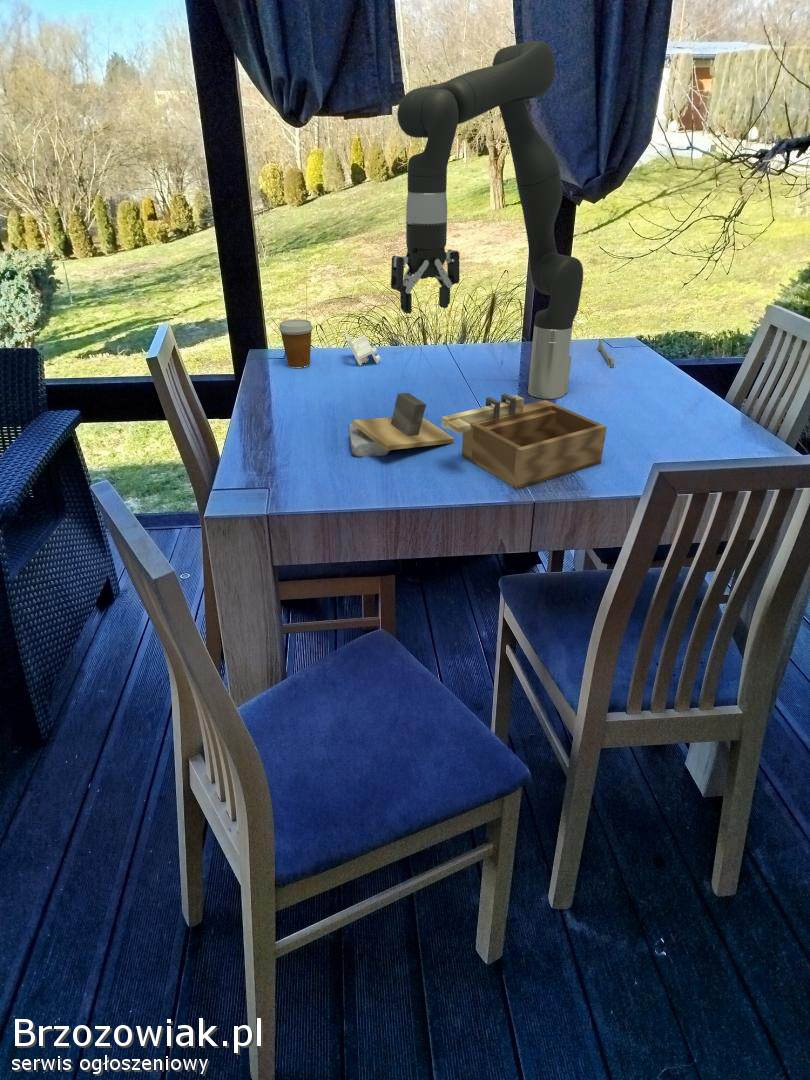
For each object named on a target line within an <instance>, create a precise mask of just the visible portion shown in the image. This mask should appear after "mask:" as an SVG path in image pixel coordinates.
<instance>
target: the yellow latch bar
mask: <svg viewBox="0 0 810 1080" xmlns="http://www.w3.org/2000/svg"><path fill="white" fill-rule="evenodd" d="M511 396H512V397H514V398H516V402H515V413H519V412H523V405H525V404H524V402H525V399H524V398H523V397H522V396H519V395H516V394H514V395H511ZM494 408H495V405H494V404H491V405H490V406H486V405H485V406H483V407H478V408H474V409H471V410H465V411H461V412H457V413H453V414H449V415H445V416H444V415H443V416H441V427H442V428H443V429H445V430H450V431H452V432H453V433H455V434H458V435H459V434H463V432H467V431H471V425H470V424H471V423H475V422H479V421H483V420H487V419H491V418H494ZM509 410H510V401H509V400H506V402H503V403H501V402H500V414H499V416H503V415H507V414H509Z"/></svg>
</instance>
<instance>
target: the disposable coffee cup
mask: <svg viewBox="0 0 810 1080" xmlns="http://www.w3.org/2000/svg"><path fill="white" fill-rule="evenodd" d="M313 329H314V326H313V325H312V322H311V321H310V320H307V319H301V318H296V319H286V320H283V321H280V323H279V327H278V330H279V333H280V335H281V340H282V344H283V348H284V353H285V358H286V362H287V367H289V366H290V367H304V366H307V365H309V364H310V365H311V350H312V349H311V348H312V347H311V346H312V333H313V332H312V331H313ZM290 367H289V368H290Z"/></svg>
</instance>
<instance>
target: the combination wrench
mask: <svg viewBox="0 0 810 1080" xmlns="http://www.w3.org/2000/svg"><path fill="white" fill-rule="evenodd" d="M598 341H599V342H598V345H597V351H598V352H601V354H602V356H603V357H604V359H605V361H606V363H607V366H608V367H609V366H610V367H613V368H614V367H615V359H614V357H610V355H609V353H608V352H607V350H606V349H605V347H604V345H603V339H602V338H599V339H598Z"/></svg>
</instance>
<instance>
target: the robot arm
mask: <svg viewBox="0 0 810 1080" xmlns="http://www.w3.org/2000/svg"><path fill="white" fill-rule="evenodd" d="M555 75H556V61H555V55H554V53H553V49H552V47H550V46H549V45H548V44H547V43H546V42H544V41H543V40H531V41H526V42H522V43H517V44H514V45H509V46H506V47H503V48H500V49H499V50H498V51H496V53H495V54H494V57H493V61H492V65H490V66H487V67H482V68H478V69H475V70H470V71H469V72H465V73H463V74H462V73H461V74H459V75H458V76H455V77H453V78H451V79H449V80H447V81H444V82H440V83H436V84H431V85H424V86H422V87H417V88H414V89H412V90H410V91H408V92H407V93H406V94H405V95H404V96H403V97H402V98H401V100H400V103H399V105H398V106H397V115H396V116H397V123H398V125H399V127H400V130H402V131H403V133H404V134H406V135H407V136H409V137H410V138H415V139H416V138H418V139H421V138H424V139H426V138H427V141H426V144H425V146H424V147H425V148H424V150H423V151H422V152H420V153H416V154H413V155H412V156H410V157H409V159H408V162H407V194H406V195H407V196H406V206H405V209H406V210H405V217H406V219H405V220H406V221H405V224H406V225H405V230H406V231H405V233H406V234H405V236H406V237H405V238H406V239H405V242H406V243H405V244H406V249H407V252H406V255H405V256H399V255H392V257H391V268H390V269H391V272H390V288H391V289H392V290H395V291H398V292H399V294H400V309H401V310H402V312H403V313H405V314H408V315H409V314H412V312H413V311H412V307H413V304H412V303H413V301H412V298H413V297H412V296H413V295H412V294H413V293H411V292H412V290H413V289H414V287H415V285H416V284H417V283H418V282H419V280H420V279H421V280H424V279H428V278H432V279H433V278H435V279H436V280H437V282H438V283H439V285H440V286H439V289H438V290H439V293H438V295H439V296H438V305H439V307H440V308H443V309H448V307H449V305H450V302H451V288H452V286H453V285H455V284H456V285H457V284H459V283H460V252H459V251H457V250H453V249H448V250H447V251H446V249H445V248H446V246H447V237H448V236H447V235H448V233H447V231H448V198H447V179H448V177H447V176H448V175H447V173H448V165H449V159H450V156H451V152H452V148H453V144H454V140H455V136H456V132H457V129H458V125H461V124H464V123H466V122H468V121H470V120H473V119H475V118H477V117H480V115H483V114H485V113H487V112H489V111H491V110H493V109H495V108H498V109H499V111H500V115H501V118H502V121H503V125H504V128H505V131H506V135H507V136H506V137H507V140H508V143H509V144H508V145H509V148H510V153H511V158H512V163H513V167H514V168H513V169H514V175H515V181H516V185H517V190H518V191H517V192H518V196H519V200H520V205H521V209H522V215H523V220H524V221H523V222H524V226H525V231H526V232H525V233H526V238H527V245H528V255H529V257H528V258H529V266H530V268H529V269H530V277H531V282H532V284H533V287H534V288H535V289H536V291H537V292H540V293H541V294H544V295H548V296H549V297H550V298H549V304H548V307H547V308H544V309H540V310H538V311H537V312H535V313H536V314H535V315H534V323H533V335H532V343H531V344H532V345H531V355H530V366H529V367H530V368H529V376H528V389H527V393H528V395H530V396H531V397H533V398H534V397H535V398H538V399H544V400H553V399H554V400H555V399H559V398H562V397H563V396H564V395H565V394H567V393H568V390H569V389H568V387H569V382H570V381H569V380H570V374H571V372H570V371H571V365H572V356H571V355H570V351H571V342H572V341H571V340H572V333H573V326H574V321H575V318H576V316H577V313H578V311H579V306H580V305H579V304H580V300H581V299H580V298H581V293H582V288H583V282H584V268H583V263H582V262H581V261H580V260H579V259H578V257H577V258H576V257H575V256H570V255H565V254H559V253H558V249H557V246H556V239H555V223H556V220H557V216H558V214H559V210H560V208H561V204H562V201H563V184H562V179H561V178H562V177H561V172H560V165H559V160H558V159H557V156H556V155H555V153H554V151H553V149H552V148H551V147H550V146H549V144H548V142H546V140H545V139H544V138H543V137H542V135H541V134H540V132H539V131H538V130H537V129H536V127H535V126H534V123H533V122H532V119H531V117H530V114H529V110H528V107H527V103H526V100H529V99H534V98H537V97H541V96H542V95H544V94H545V93H546V92H548V90H550V89H551V86H552V84H553V82H554V79H555ZM445 262H446V265H447V266H446V267H447V269H445V268H444V266H443V265H444V264H445ZM406 265H407V267H408V268H407V270H406V271H404V270H405V268H406Z"/></svg>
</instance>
